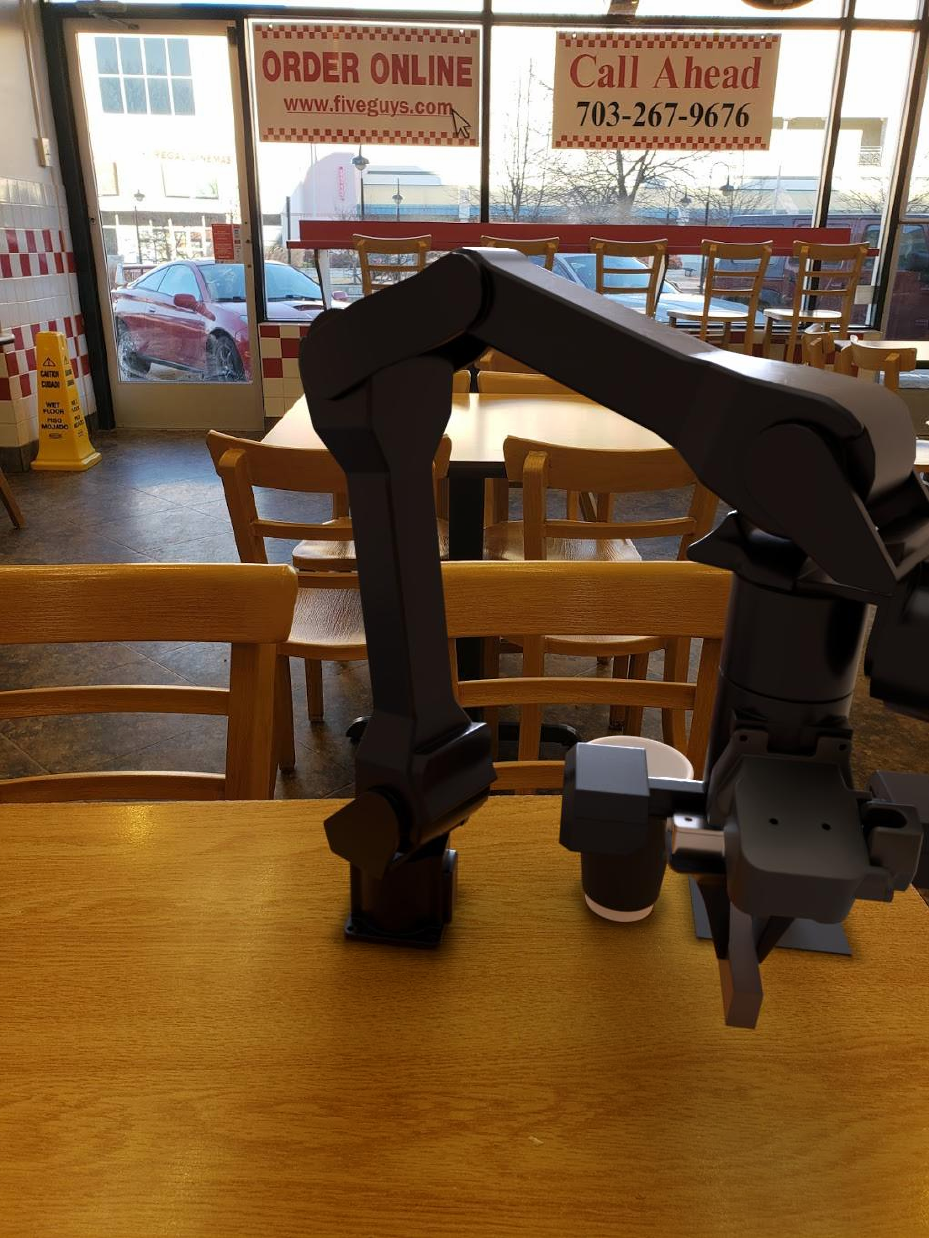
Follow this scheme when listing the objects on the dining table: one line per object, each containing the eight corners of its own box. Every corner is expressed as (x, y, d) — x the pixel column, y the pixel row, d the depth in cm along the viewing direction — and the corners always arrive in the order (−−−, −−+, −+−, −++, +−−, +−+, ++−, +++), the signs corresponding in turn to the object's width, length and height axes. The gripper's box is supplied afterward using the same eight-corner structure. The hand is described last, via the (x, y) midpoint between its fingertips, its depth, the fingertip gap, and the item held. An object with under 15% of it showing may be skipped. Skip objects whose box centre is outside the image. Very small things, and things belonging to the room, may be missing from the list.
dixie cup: (699, 920, 65) (719, 781, 60) (599, 949, 62) (613, 805, 58) (635, 855, 71) (649, 727, 67) (543, 879, 68) (551, 746, 64)
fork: (773, 1032, 45) (782, 997, 44) (707, 1024, 45) (714, 989, 44) (738, 818, 58) (744, 787, 57) (686, 813, 58) (692, 782, 57)
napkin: (696, 937, 63) (696, 936, 63) (685, 850, 72) (685, 849, 72) (851, 955, 62) (852, 954, 62) (820, 864, 71) (820, 863, 71)
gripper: (567, 743, 35) (542, 1059, 41) (1101, 792, 33) (994, 1118, 39) (574, 631, 45) (553, 896, 51) (982, 663, 43) (912, 936, 49)
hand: (737, 956), depth 47 cm, fingers closed on fork, 1 cm apart
